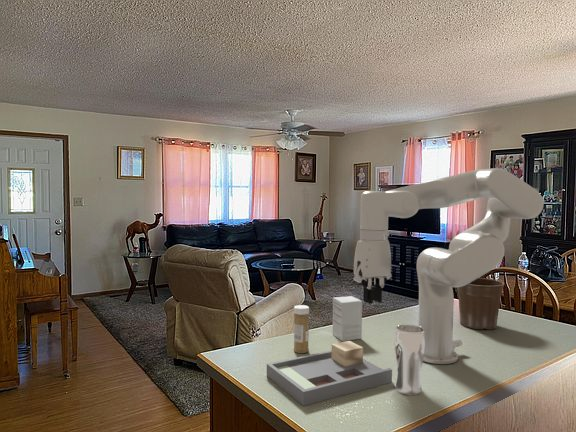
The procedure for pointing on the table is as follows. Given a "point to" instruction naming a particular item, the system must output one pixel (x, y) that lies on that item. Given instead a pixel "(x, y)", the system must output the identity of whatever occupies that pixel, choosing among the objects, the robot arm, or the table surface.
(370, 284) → the robot arm
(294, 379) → the box
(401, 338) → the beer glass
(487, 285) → the plant pot
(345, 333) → the supplement box
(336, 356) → the maple block
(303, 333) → the sprinkles bottle
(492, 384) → the table surface
